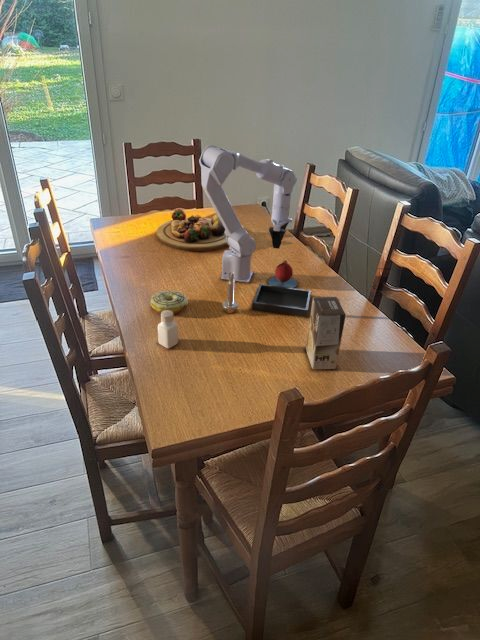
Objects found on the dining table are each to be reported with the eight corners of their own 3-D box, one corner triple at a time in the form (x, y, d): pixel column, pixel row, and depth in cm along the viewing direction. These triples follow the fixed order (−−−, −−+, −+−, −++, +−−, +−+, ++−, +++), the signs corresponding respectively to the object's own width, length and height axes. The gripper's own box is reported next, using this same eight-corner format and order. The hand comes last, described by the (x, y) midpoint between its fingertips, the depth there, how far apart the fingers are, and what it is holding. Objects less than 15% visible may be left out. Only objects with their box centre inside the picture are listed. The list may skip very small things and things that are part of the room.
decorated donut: (194, 307, 141) (194, 296, 139) (166, 320, 134) (166, 309, 132) (171, 295, 146) (171, 284, 144) (144, 307, 140) (143, 296, 138)
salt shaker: (168, 337, 127) (167, 307, 122) (179, 343, 125) (178, 313, 119) (157, 344, 124) (155, 313, 119) (168, 350, 122) (166, 319, 117)
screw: (240, 314, 139) (224, 315, 137) (235, 306, 142) (220, 307, 141) (241, 274, 132) (225, 276, 130) (237, 267, 135) (221, 268, 134)
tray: (252, 309, 141) (252, 302, 140) (259, 290, 152) (259, 283, 150) (306, 317, 139) (307, 310, 137) (310, 297, 149) (311, 290, 148)
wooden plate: (147, 227, 194) (145, 207, 190) (217, 218, 206) (218, 200, 202) (170, 257, 170) (170, 236, 165) (249, 245, 182) (250, 225, 177)
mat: (266, 288, 153) (266, 287, 153) (270, 275, 161) (270, 274, 161) (295, 292, 151) (295, 291, 151) (298, 279, 159) (298, 278, 159)
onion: (290, 287, 153) (293, 265, 149) (273, 285, 154) (275, 263, 150) (292, 279, 158) (294, 257, 154) (275, 277, 159) (277, 255, 155)
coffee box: (336, 369, 118) (347, 315, 109) (311, 370, 117) (320, 315, 109) (327, 348, 126) (337, 296, 117) (304, 348, 125) (311, 296, 116)
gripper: (290, 213, 147) (286, 253, 154) (295, 199, 159) (291, 237, 166) (268, 211, 148) (265, 250, 155) (275, 197, 160) (272, 235, 167)
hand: (277, 243), depth 161 cm, fingers open, 7 cm apart
